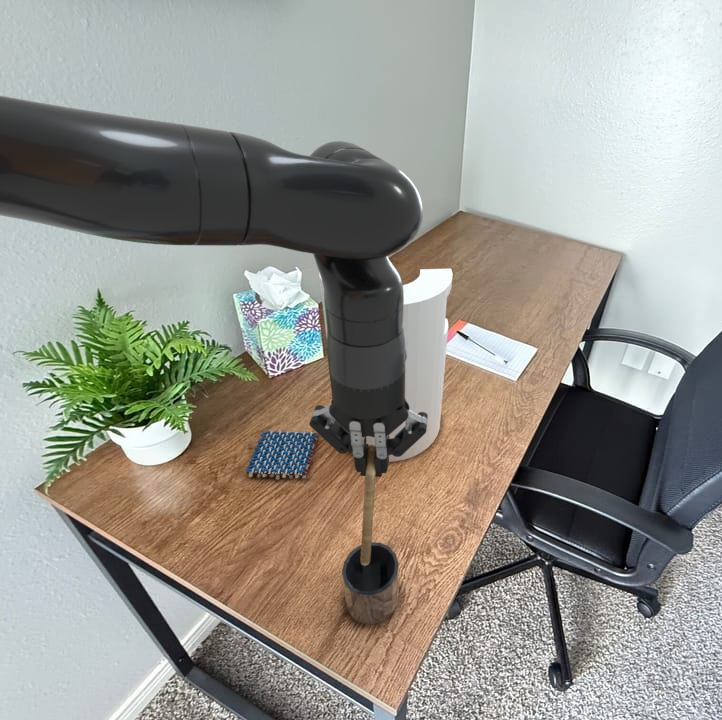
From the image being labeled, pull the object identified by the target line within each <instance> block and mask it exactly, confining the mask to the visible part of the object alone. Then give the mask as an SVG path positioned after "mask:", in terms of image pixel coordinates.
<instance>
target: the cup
mask: <svg viewBox="0 0 722 720" xmlns="http://www.w3.org/2000/svg"><path fill="white" fill-rule="evenodd" d="M360 558H361V544H360V545H358V546H357V547H355V548H353V550H350V552H349V553H348V555H347V556H346V558H345V560H344V561H343V565H342V571H341V577H342V583H343V589H344V596H345V603H346V607H347V611H348V613H349V615H350V616H351V618H352V619H353V620H354V621H356V622H358V623H359V624H363V625H367V626H368V625H369V626H371V625H377V624H379V623H382V622H384V621H385V620H387V619H388V618H389V617H390V616H391V615H392V614H393V612H394V611H395V610H396V607H397V605H398V601H399V592H400V591H399V587H400V584H399V583H400V581H399V580H400V574H399V573H400V564H399V560H398V555H397V553H396V552H395V551H394V550H393V549H392V548H391V547H390V546H389V545H387V544H384V543H382V542H376V541H375V542H373V541H372V543H371V559H370V563H369V564H368V565H366V566H364V565H362V564H361V562H360Z"/></svg>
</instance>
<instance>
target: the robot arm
mask: <svg viewBox="0 0 722 720" xmlns="http://www.w3.org/2000/svg"><path fill="white" fill-rule="evenodd" d="M0 216H2V217H7V218H13V219H18V220H23V221H27V222H31V223H37V224H42V225H45V226H46V225H47V226H51V227H55V228H59V229H63V230H68V231H71V232H72V231H73V232H76V233H81V234H85V235H90V236H94V237H95V236H96V237H101V238H105V239H111V240H118V241H123V242H130V243H131V242H132V243H137V244H148V245H149V244H150V245H162V246H163V245H166V246H201V247H202V246H206V247H207V246H210V247H212V246H213V247H214V246H216V247H217V246H219V247H220V246H223V247H224V246H226V247H227V246H228V247H229V246H231V247H232V246H259V245H260V246H271V247H278V248H281V249H287V250H291V251H295V252H300V253H305V254H306V253H307V254H313V258H314V261H315V264H316V267H317V270H318V274H319V273H320V276H321V279H322V282H323V288H324V303H325V312H326V322H327V338H326V356H327V365H328V373H329V381H330V382H329V383H330V390H331V402H330V405H328V406H324V405H322V404H317V405H315V407H314V409H313V412H312V415H311V418H310V421H309V423H308V424H309V427H310V428H312V429H313V430H314V431H315V433H316V434H318V436H320V437H321V438H322V439H324V441H325V442H326V443H328V444H329V445H330V446H331V447H332V448H333V449H334V450H335V451H336V452H337V453H338V454H347V453H350V454H352V456H353V459H354V470H355V471H356V472H357V473H360V477H365V476H366V463H367V448H368V446H369V444H366V442H367V436H371V437H375V447H376V455H375V471H376V478H383V477H382V476H383V474H387V472H388V470H389V465H390V462H389V455H393V456H395V457H400V456H402V455H403V454H404V453H405V452H406V451H407V450H408V449H409V448H410V447H411V446H412V445H413V444H415V443H416V442H417V441H418V440H419V439H420V438H421V437H422V436H423V435H424V434H425V433H426V430H427V419H428V415H427V413H425V412H420V413H418V414H416V413H414V412H412V411H410V410H409V404H408V403H407V401H406V400H405V361H406V359H407V354H406V343H405V336H404V328H403V303H404V291H403V285H404V284H403V280H402V277H401V275H400V272H399V271H398V269H397V268H396V267H395V266H394V264H393V263H392V262H391V259H390V258H389V256H393V255H395V254H397V253H399V252H400V251H402V250H403V249H405V248H406V247H408V245H410V244H411V243H412V242H413V240H414V239H415V238H416V236H417V235H418V233H419V231H420V228H421V226H422V222H423V216H424V207H423V201H422V198H421V195H420V193H419V190H418V189H417V187H416V186H415V184H414V183H413V181H412V180H411V179H410V178H409V177H408V176H407V175H406V173H404V172H403V171H402V170H400V169H399V168H398V167H396V166H394V165H393V164H390V163H389V162H387V161H385V160H384V159H382V158H380V157H379V156H377V155H375V154H373V153H372V152H370V151H369V150H367V149H365V148H363V147H361V146H359V145H357V144H355V143H351V142H348V141H344V140H343V141H342V140H337V141H336V140H335V141H330V142H326V143H324V144H322V145H320V146H318V147H317V148H315V150H313V152H312V153H310V155H305V154H300V153H296V152H292V151H289V150H288V149H285V148H283V147H280V146H278V145H276V144H275V143H273V142H271V141H268V140H266V139H263V138H260V137H256V136H253V135H249V134H244V133H240V132H235V131H227V130H222V129H221V130H220V129H216V128H214V129H213V128H208V127H200V126H195V125H188V124H183V123H182V124H181V123H175V122H169V121H168V122H167V121H162V120H161V121H160V120H153V119H146V118H139V117H133V116H126V115H119V114H113V113H106V112H99V111H93V110H88V109H87V110H86V109H80V108H73V107H68V106H62V105H56V104H50V103H44V102H37V101H32V100H26V99H21V98H16V97H10V96H5V95H0ZM404 421H406V425H405V427H404V428H403V429H402V430H401V431H400V432H399V433H398V434H397V435H396V436H395V438H391V439H390V434H391V433H392V432H393V431H394V430H395V429H396V428H398V427H399V426H400V425H401V424H402V423H403V422H404ZM339 437H340V438H339Z"/></svg>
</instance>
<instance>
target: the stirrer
mask: <svg viewBox="0 0 722 720" xmlns="http://www.w3.org/2000/svg"><path fill="white" fill-rule="evenodd" d="M375 455H376V447H375V445H374V444H371V445H369V446H368V448H367V463H366V476H364V477H365V478H364V493H363V494H364V495H363V511H362V513H363V514H362V526H361V527H362V528H361V544H360V545H361V558H360V562H361V564H362V565H364V566H366V565H368V564H369V563H370V559H371V543H372V542H373V541H372V540H373V525H374V510H375V508H374V507H375V496H376V495H375V492H376V479H377V477H376V471H375Z"/></svg>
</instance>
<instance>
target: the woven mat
mask: <svg viewBox="0 0 722 720" xmlns="http://www.w3.org/2000/svg"><path fill="white" fill-rule="evenodd" d="M259 436H260V437H261V438H259V440H257V444H256V446H255V447H254V450H255V451H254V452H253V453H251V457H252V458H251V459H250V460H248V464H249V465H248V466H247V467H246V468H245V471H246V475H248V477H249V478H253V476H255V475H256V478H258V479H260V478H261V477H262V478H267V476H268V475H269V478H274V477H275V480H276V481H279V480H280V478H282V479H286V477H288V478H289V479H290V480H291V479H293V478H294V479H299V478H300V476H302V477H301V479H302V480H306V479H307V476H308V472H309V470H310V469H311V468H312V466H311V463H312V462H313V459H312V458H313V457H314V456H313V455H314V453H315V450H316V449H317V446H316V445H317V442H318V440H319V439H318V438H319V436H320V435H317V432H313V431H310V432H306V431H304V432H301V430H300V431H277V430H275V431H273V430H267V431H263V432H262V433H260V435H259ZM275 475H276V476H275Z"/></svg>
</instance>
